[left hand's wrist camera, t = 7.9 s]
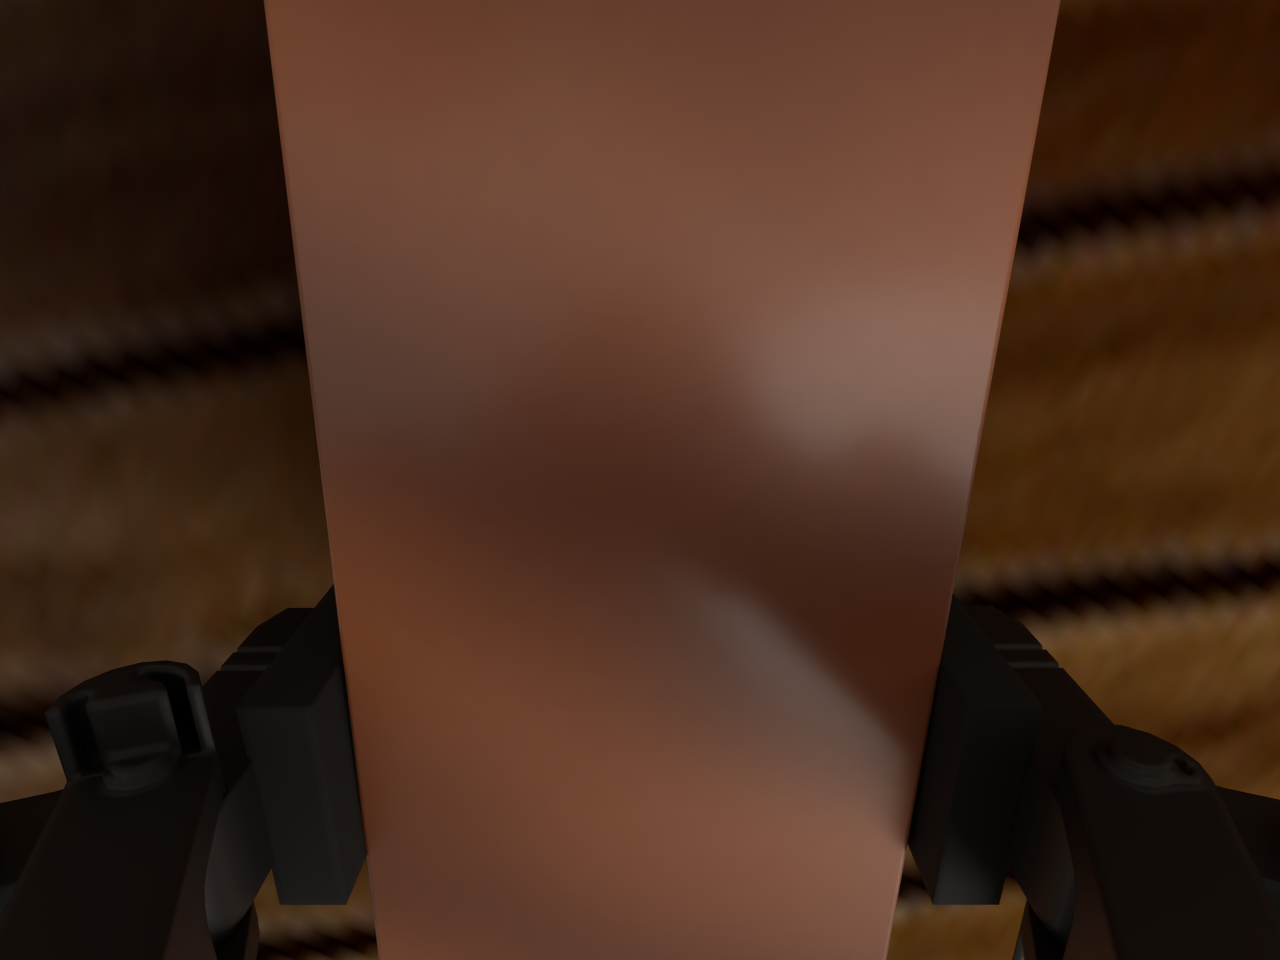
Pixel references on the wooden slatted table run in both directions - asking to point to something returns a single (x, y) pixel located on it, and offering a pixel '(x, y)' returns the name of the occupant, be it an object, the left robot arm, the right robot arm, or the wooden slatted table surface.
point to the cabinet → (648, 444)
